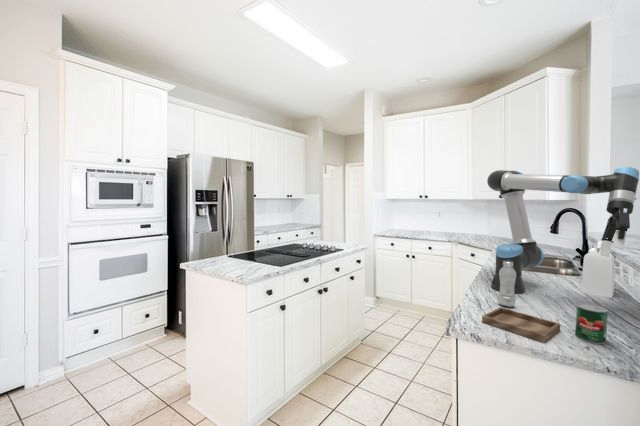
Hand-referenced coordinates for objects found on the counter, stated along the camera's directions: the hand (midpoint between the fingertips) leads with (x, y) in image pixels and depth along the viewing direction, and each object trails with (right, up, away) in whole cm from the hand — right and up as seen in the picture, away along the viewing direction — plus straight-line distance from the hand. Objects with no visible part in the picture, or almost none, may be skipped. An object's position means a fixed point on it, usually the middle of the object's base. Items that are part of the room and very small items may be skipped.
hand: (611, 252), depth 116 cm
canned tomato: (-22, -28, -15) cm, 39 cm away
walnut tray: (-40, -27, -6) cm, 49 cm away
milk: (+28, -26, +35) cm, 51 cm away
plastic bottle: (-32, -26, +15) cm, 44 cm away
